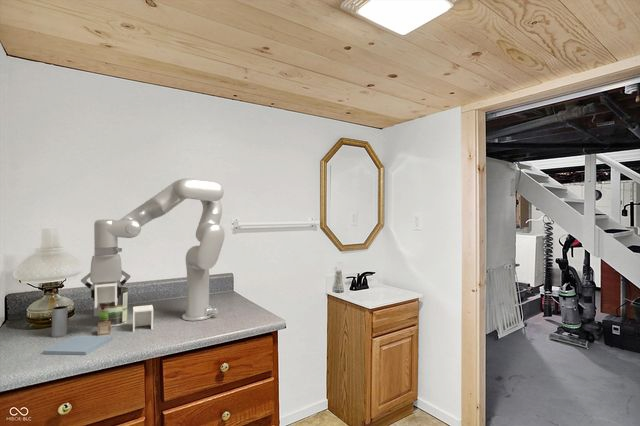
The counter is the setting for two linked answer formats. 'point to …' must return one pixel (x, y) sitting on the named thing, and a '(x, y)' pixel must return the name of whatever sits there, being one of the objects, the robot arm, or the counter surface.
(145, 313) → the plain white cube box
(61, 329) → the grey cylinder
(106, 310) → the coffee can
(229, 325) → the counter surface
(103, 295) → the white box
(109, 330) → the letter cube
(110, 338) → the slate board
